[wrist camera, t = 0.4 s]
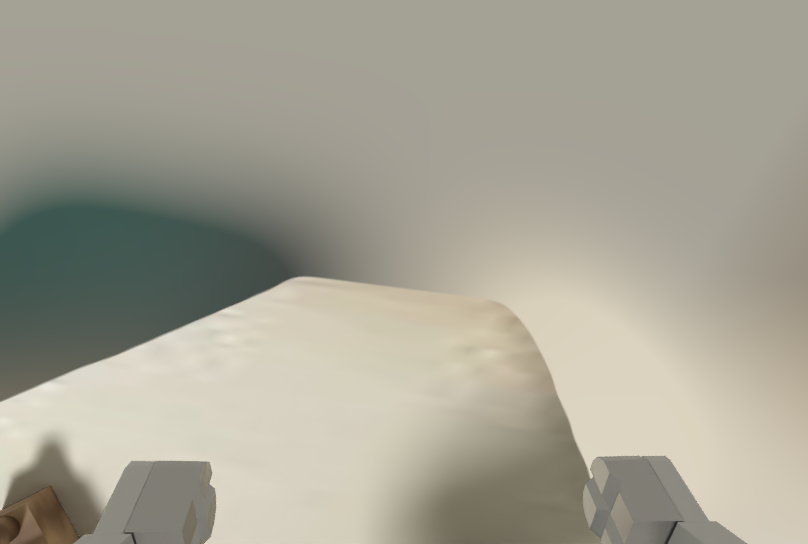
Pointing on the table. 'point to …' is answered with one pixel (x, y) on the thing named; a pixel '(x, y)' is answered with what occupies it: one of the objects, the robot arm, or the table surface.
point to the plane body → (36, 521)
